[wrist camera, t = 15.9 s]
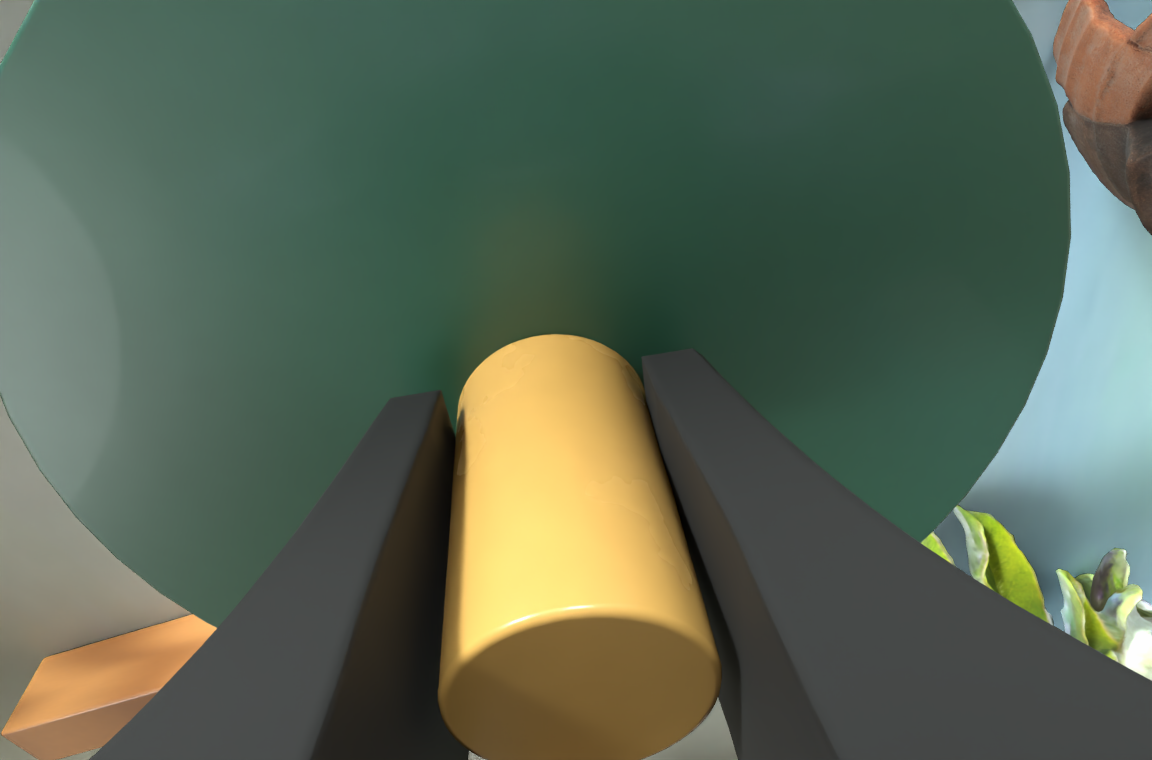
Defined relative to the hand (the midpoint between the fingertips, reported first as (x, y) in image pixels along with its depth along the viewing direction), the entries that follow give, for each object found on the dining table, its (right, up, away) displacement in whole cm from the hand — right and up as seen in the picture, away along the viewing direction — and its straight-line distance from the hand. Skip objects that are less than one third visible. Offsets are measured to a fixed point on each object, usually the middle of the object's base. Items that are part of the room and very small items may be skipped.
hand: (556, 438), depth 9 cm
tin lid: (0, +1, +1) cm, 1 cm away
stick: (-14, -8, +17) cm, 23 cm away
